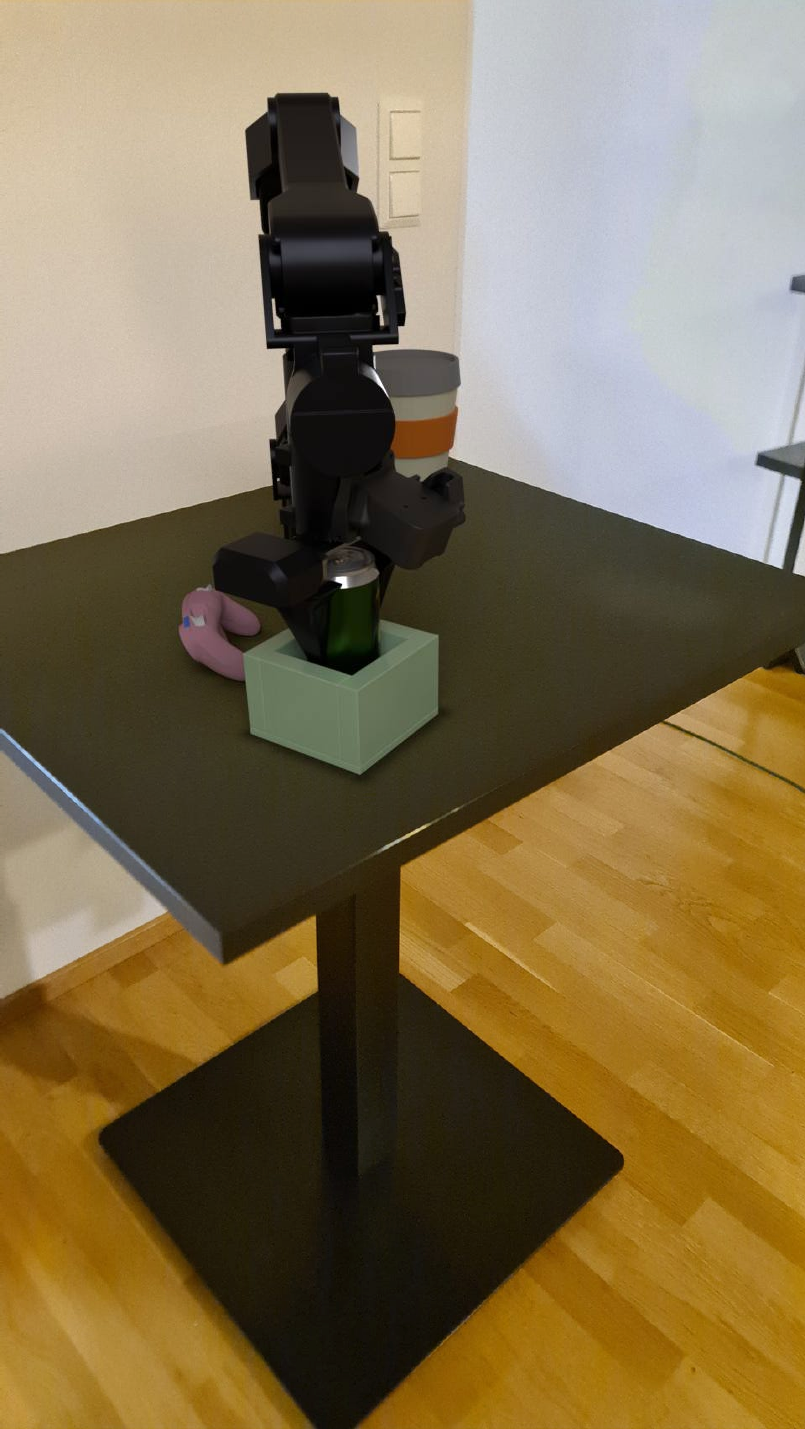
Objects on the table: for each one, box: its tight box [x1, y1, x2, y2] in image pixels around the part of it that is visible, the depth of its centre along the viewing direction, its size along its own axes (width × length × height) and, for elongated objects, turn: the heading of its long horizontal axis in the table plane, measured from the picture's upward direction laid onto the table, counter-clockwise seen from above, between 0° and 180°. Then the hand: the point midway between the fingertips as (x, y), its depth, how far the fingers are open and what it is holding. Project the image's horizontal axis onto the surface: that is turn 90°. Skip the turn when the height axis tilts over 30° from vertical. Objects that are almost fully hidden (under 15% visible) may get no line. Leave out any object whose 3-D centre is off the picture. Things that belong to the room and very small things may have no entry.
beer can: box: [306, 546, 381, 676], centre depth 73 cm, size 5×5×12 cm
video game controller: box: [178, 583, 261, 682], centre depth 84 cm, size 10×5×7 cm, turn 5°
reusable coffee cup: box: [373, 348, 462, 481], centre depth 122 cm, size 12×13×15 cm
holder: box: [243, 618, 440, 776], centre depth 74 cm, size 10×10×7 cm
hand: (342, 648), depth 73 cm, fingers closed on beer can, 5 cm apart
